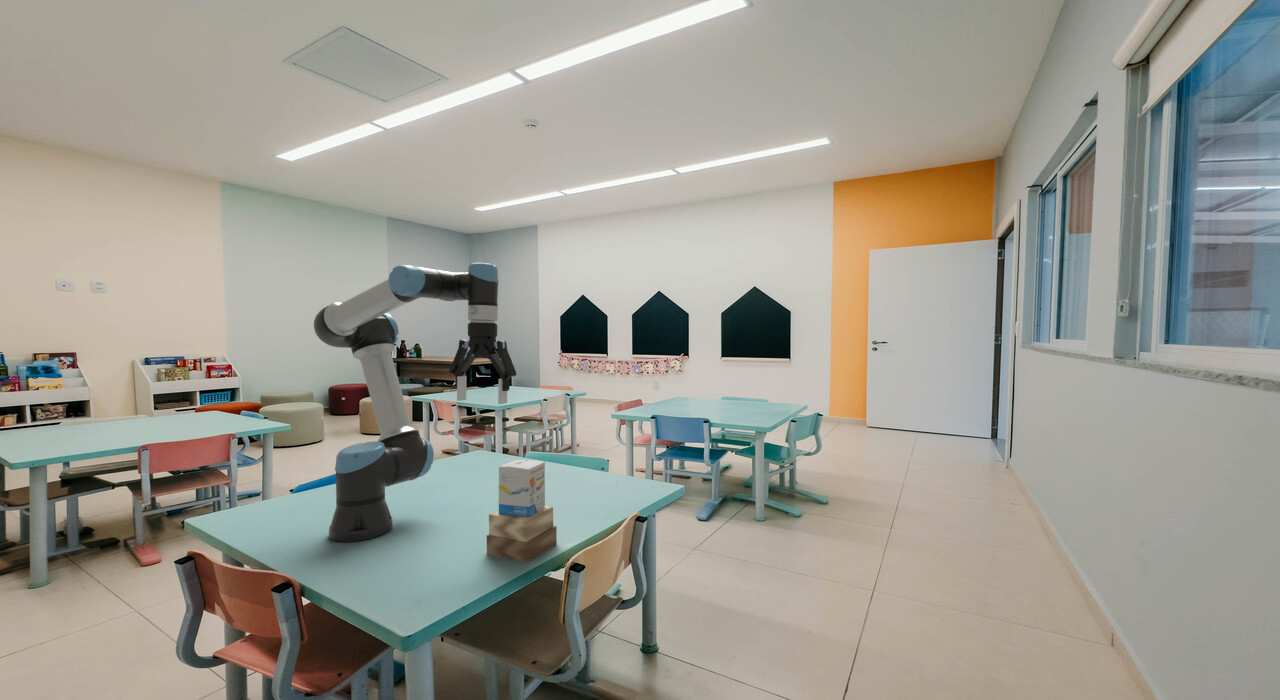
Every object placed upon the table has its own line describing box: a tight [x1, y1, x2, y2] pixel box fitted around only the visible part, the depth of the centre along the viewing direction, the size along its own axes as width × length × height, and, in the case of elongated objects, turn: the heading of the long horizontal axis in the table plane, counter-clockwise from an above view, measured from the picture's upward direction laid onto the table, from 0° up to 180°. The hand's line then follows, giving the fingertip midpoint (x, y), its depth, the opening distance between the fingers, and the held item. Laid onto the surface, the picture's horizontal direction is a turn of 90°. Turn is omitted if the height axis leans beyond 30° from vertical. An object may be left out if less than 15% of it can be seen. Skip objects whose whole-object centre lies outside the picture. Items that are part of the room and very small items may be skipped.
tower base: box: [486, 525, 558, 563], centre depth 126 cm, size 12×12×5 cm
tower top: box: [488, 505, 554, 542], centre depth 126 cm, size 11×11×5 cm
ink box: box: [498, 459, 546, 517], centre depth 126 cm, size 9×8×12 cm
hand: (481, 401), depth 136 cm, fingers open, 13 cm apart
